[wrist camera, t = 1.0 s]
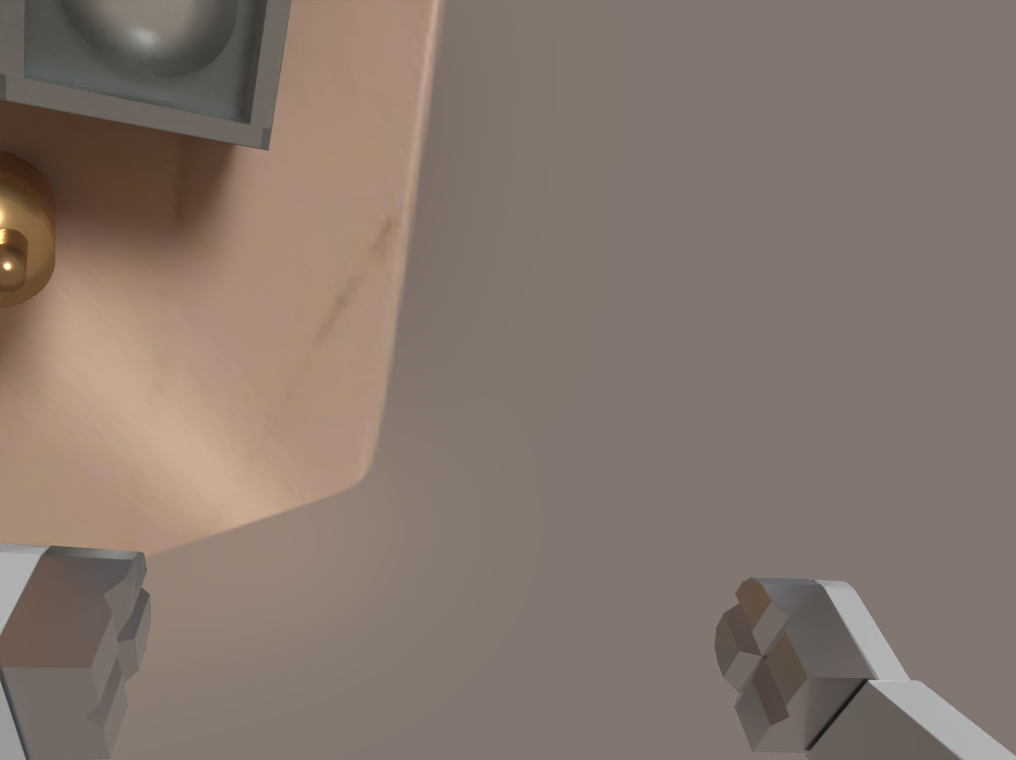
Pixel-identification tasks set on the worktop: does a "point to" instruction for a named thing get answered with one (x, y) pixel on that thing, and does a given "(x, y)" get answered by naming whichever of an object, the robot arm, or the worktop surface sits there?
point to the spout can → (24, 231)
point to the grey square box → (149, 62)
